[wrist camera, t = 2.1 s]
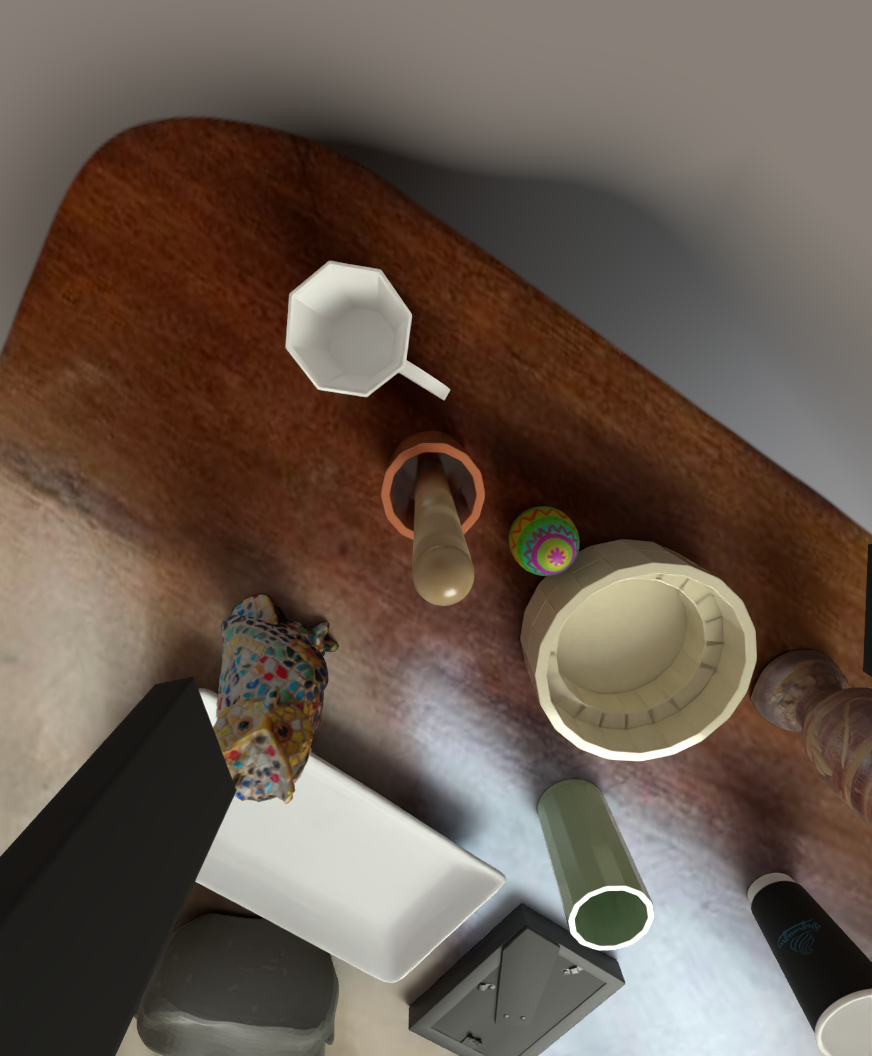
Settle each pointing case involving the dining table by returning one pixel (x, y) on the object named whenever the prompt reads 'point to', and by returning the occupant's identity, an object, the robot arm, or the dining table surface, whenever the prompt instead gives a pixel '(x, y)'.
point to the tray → (346, 870)
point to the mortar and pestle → (823, 721)
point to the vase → (593, 867)
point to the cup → (352, 331)
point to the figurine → (269, 697)
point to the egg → (544, 541)
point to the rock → (239, 992)
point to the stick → (438, 540)
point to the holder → (457, 470)
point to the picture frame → (515, 990)
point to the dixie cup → (817, 964)
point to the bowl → (637, 650)
